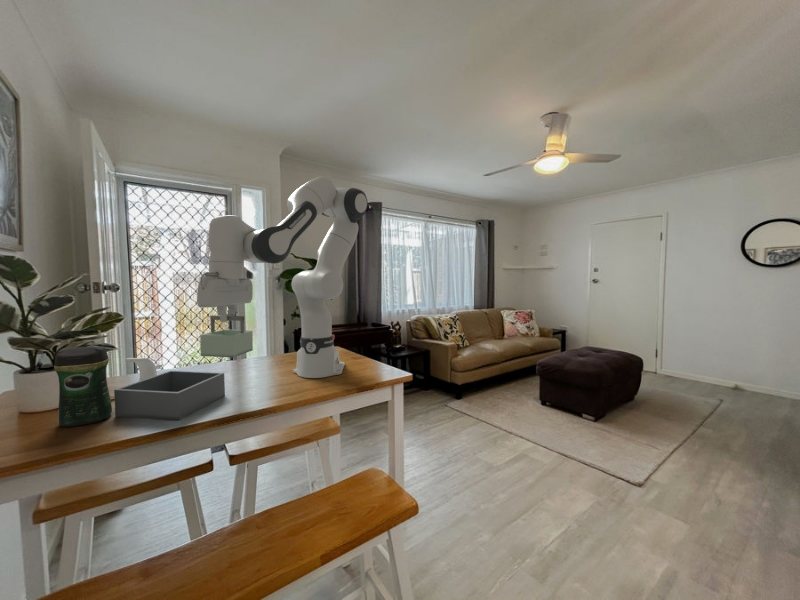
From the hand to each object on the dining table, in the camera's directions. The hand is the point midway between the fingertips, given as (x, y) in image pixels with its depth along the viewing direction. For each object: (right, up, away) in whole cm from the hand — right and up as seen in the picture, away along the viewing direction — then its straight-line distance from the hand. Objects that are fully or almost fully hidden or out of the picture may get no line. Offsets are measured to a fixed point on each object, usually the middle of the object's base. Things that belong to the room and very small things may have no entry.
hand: (227, 321), depth 95 cm
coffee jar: (-29, -24, -12) cm, 40 cm away
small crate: (0, -9, +1) cm, 9 cm away
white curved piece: (-29, -23, +6) cm, 38 cm away
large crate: (-14, -24, -2) cm, 27 cm away
